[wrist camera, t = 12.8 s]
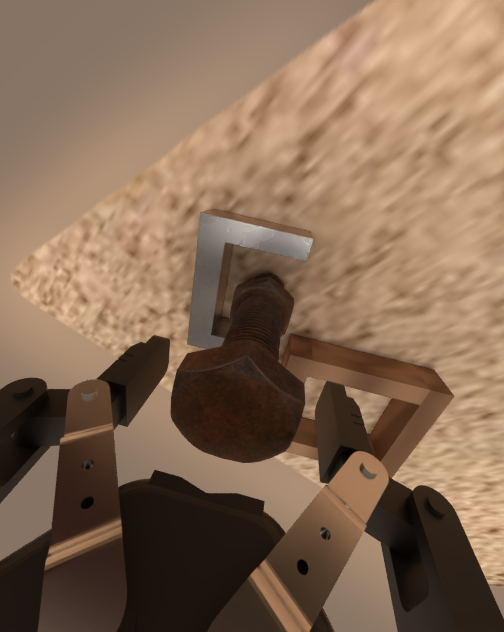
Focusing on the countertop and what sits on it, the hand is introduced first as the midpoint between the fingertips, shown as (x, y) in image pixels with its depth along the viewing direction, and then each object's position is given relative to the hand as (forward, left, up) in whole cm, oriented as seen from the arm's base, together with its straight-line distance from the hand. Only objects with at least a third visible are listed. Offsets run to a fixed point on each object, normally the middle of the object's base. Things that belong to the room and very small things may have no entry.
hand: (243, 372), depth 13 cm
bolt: (0, 0, -12) cm, 12 cm away
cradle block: (+2, 0, -12) cm, 12 cm away
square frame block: (-10, +10, -12) cm, 19 cm away
